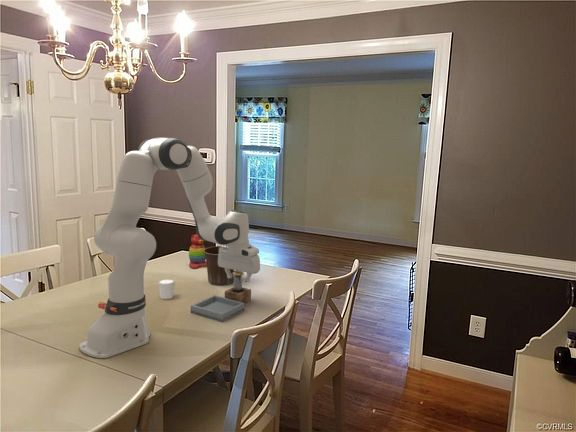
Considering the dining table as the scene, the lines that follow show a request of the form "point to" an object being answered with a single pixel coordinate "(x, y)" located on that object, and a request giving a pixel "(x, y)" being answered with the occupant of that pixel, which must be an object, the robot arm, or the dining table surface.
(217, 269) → the plant pot
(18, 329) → the dining table surface
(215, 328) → the dining table surface
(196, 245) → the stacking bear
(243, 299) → the pin block
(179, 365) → the dining table surface
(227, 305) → the tray
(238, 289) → the steel pin
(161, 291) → the white cylinder
